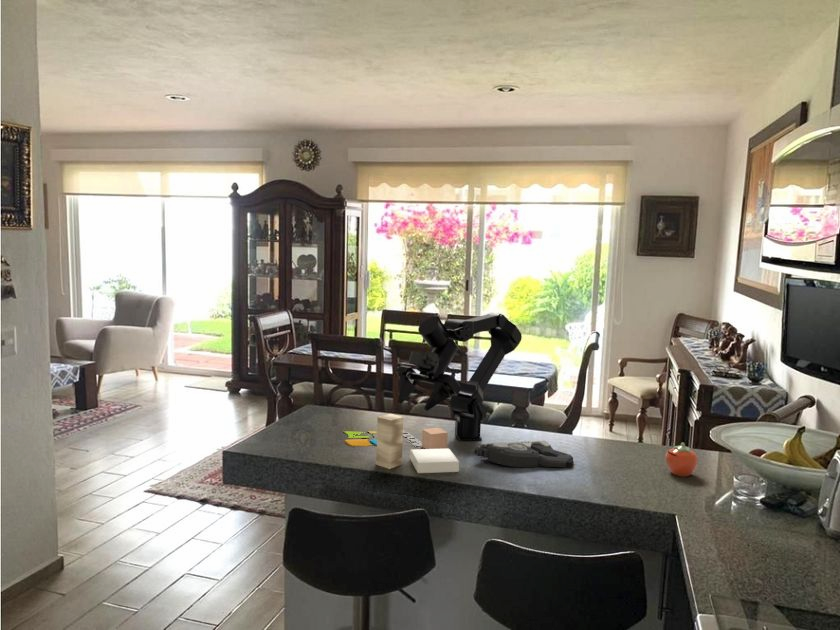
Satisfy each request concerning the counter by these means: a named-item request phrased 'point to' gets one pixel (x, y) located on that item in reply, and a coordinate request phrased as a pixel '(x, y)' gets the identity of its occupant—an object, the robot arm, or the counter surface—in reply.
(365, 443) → the logo
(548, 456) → the sci-fi pistol
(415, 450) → the slab
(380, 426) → the beech block
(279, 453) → the counter surface
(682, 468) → the tomato
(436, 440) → the terracotta cube
